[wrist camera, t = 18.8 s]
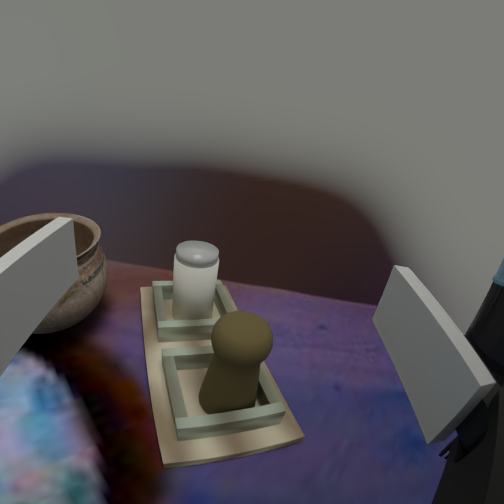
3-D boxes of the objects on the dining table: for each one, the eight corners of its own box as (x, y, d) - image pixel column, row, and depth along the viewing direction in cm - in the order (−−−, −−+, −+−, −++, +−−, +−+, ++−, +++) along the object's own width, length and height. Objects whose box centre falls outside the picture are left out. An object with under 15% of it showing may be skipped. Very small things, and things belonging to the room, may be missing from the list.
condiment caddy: (224, 291, 50) (227, 272, 48) (301, 441, 26) (312, 424, 24) (140, 293, 45) (140, 273, 43) (164, 468, 20) (161, 452, 19)
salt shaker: (206, 302, 44) (214, 240, 40) (216, 326, 39) (225, 260, 35) (169, 304, 42) (172, 239, 38) (174, 329, 37) (178, 260, 33)
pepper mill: (220, 368, 32) (235, 291, 27) (265, 395, 30) (294, 322, 25) (186, 399, 27) (192, 323, 22) (235, 432, 25) (259, 364, 20)
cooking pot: (54, 263, 46) (49, 200, 41) (140, 287, 46) (140, 216, 41) (-36, 340, 24) (-64, 261, 19) (56, 401, 23) (21, 312, 18)
